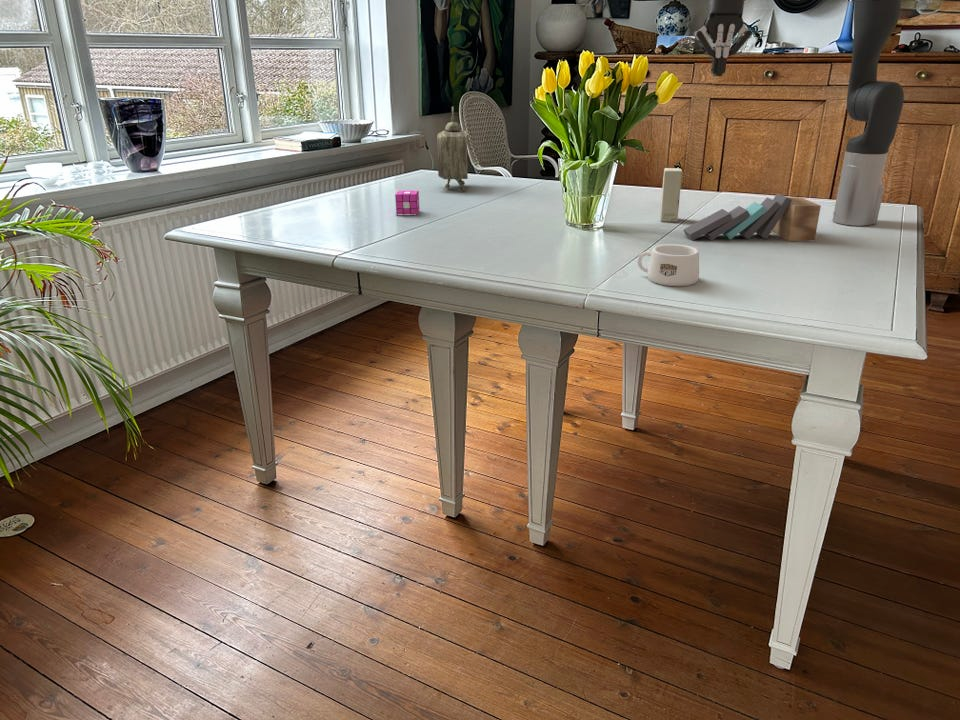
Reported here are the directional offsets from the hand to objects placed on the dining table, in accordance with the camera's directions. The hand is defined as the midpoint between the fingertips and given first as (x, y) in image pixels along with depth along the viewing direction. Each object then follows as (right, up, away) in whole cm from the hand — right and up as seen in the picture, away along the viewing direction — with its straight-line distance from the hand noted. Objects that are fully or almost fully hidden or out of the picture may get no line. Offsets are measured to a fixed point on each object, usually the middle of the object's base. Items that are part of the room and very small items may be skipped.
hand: (717, 76), depth 162 cm
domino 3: (+3, -35, +6) cm, 36 cm away
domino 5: (+12, -35, +6) cm, 37 cm away
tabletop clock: (-62, -10, +67) cm, 92 cm away
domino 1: (-5, -35, +5) cm, 36 cm away
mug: (-18, -49, -23) cm, 57 cm away
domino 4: (+8, -35, +6) cm, 36 cm away
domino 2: (-1, -35, +5) cm, 35 cm away
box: (-5, -28, +23) cm, 37 cm away
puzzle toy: (-74, -24, +34) cm, 85 cm away
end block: (+20, -35, +7) cm, 41 cm away
